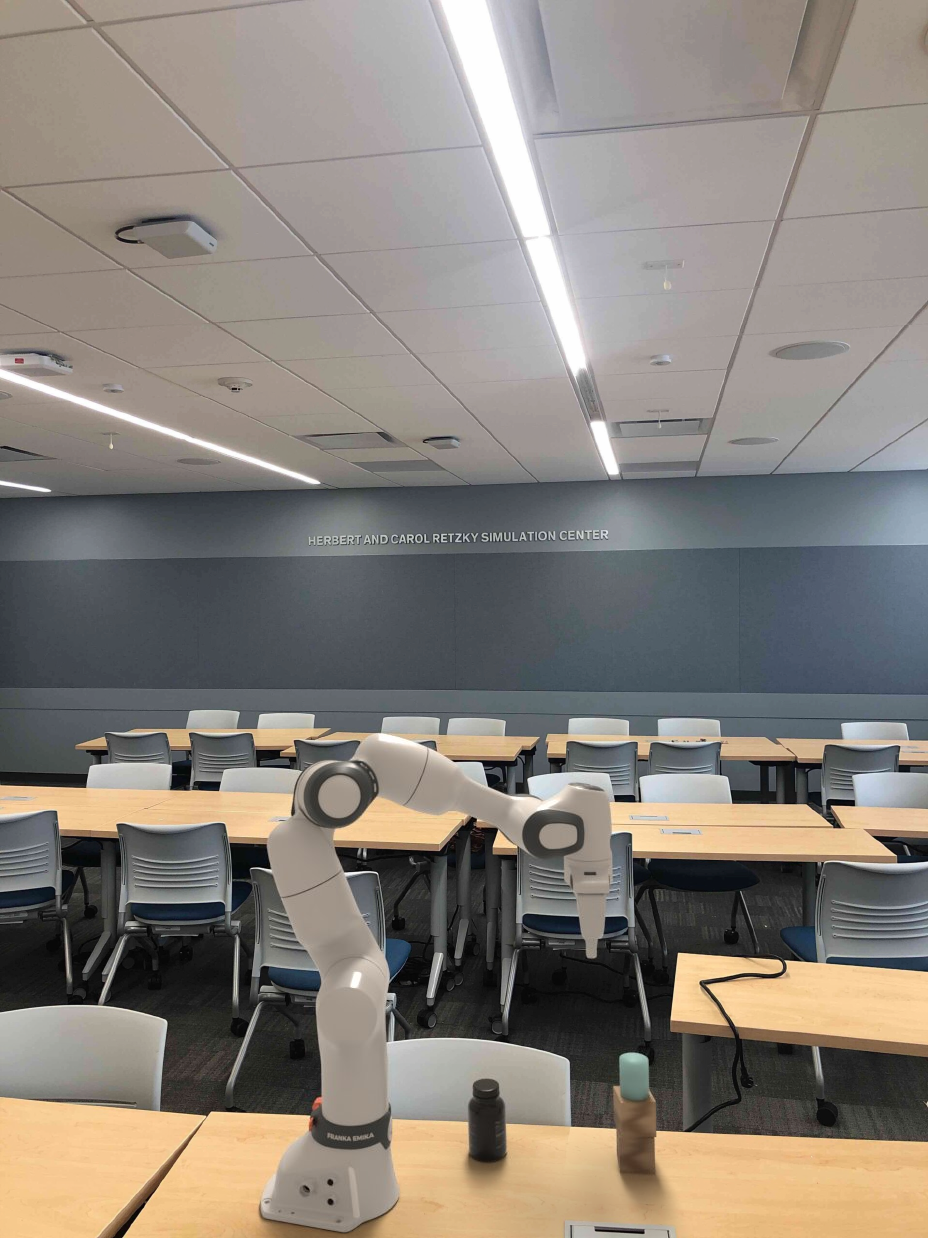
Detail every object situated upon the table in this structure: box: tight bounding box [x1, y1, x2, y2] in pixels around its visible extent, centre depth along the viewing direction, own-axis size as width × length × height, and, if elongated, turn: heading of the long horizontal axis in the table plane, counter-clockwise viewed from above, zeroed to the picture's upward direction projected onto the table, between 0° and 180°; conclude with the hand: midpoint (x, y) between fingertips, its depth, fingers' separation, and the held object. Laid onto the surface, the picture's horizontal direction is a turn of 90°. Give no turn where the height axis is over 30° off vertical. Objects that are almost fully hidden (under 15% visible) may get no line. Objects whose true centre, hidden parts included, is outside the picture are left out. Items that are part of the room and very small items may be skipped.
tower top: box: [612, 1085, 657, 1139], centre depth 156 cm, size 6×6×6 cm
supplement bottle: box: [467, 1078, 508, 1163], centre depth 159 cm, size 7×7×12 cm
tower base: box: [615, 1125, 656, 1175], centre depth 155 cm, size 6×6×6 cm
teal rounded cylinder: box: [618, 1052, 650, 1101], centre depth 156 cm, size 5×5×6 cm
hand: (589, 948), depth 163 cm, fingers open, 8 cm apart
